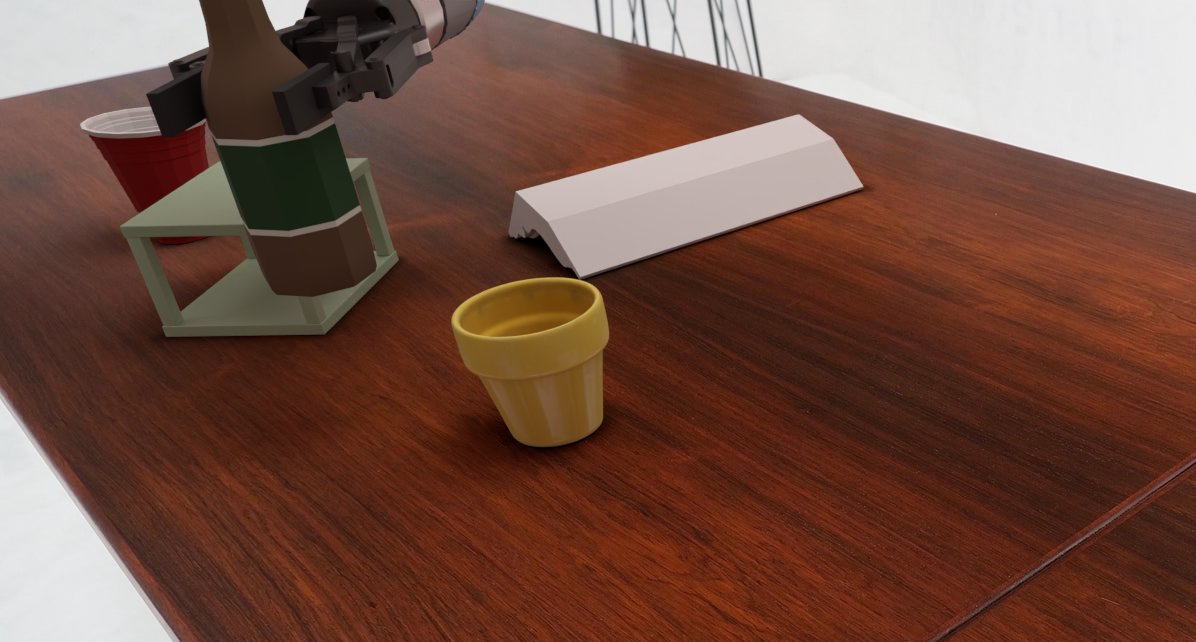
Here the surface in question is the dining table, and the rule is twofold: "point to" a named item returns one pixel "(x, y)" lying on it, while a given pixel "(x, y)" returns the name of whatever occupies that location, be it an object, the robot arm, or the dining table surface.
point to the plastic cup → (148, 156)
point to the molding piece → (683, 195)
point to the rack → (243, 264)
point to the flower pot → (538, 355)
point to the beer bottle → (280, 160)
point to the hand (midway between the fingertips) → (222, 114)
